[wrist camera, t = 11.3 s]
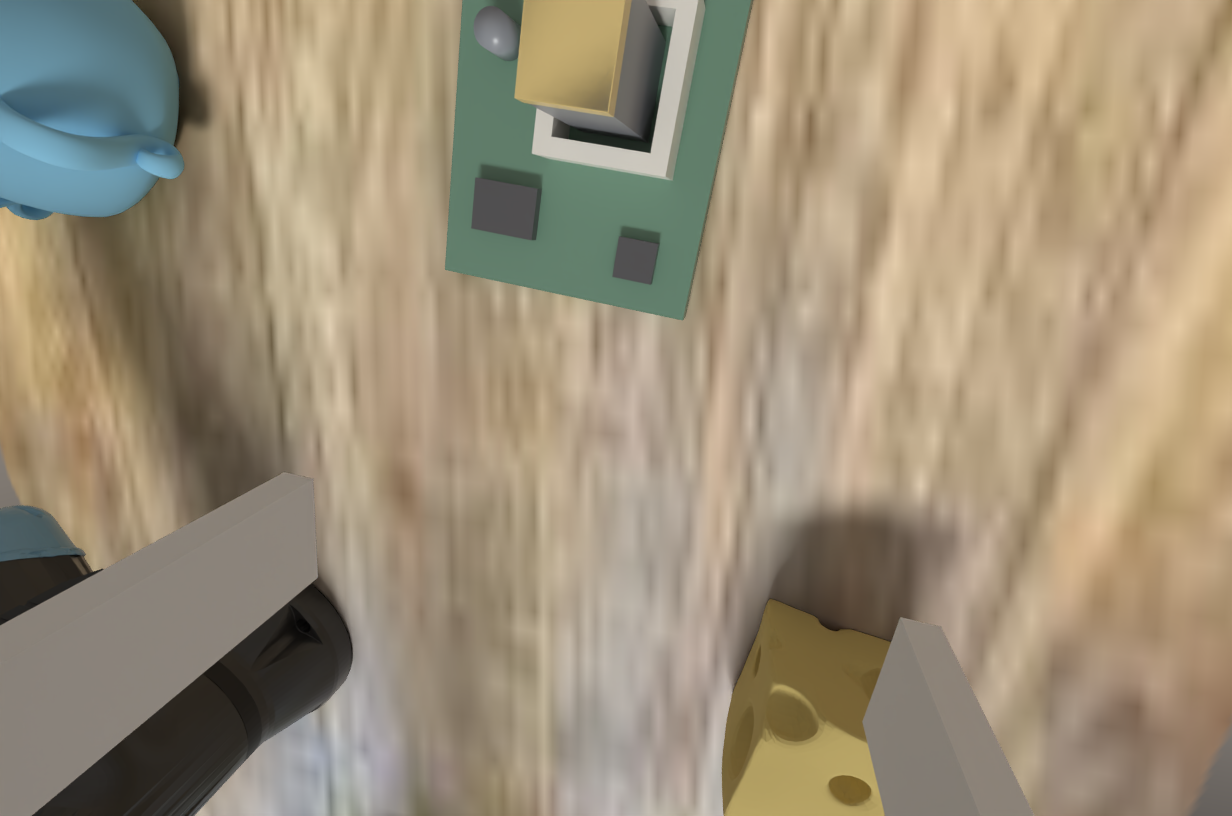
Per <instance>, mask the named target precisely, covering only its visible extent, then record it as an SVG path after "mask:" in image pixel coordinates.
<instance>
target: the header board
mask: <svg viewBox="0 0 1232 816" xmlns="http://www.w3.org/2000/svg"><path fill="white" fill-rule="evenodd" d="M646 2H647V4H648V6H649V8H650V10H651V12H652V14H653V16H654V18H655V21H656V23H657V25H658V27H659V29H660V31H661V33H662V35H663V37H664V39H665V42H666V45H665V51H664V57H663V62H662V68H661V74H660V80H659V85H658V91H657V97H656V103H655V108H654V114H653V120H652V126H651V131H650V137H649V143H646V142H640V141H634V140H628V139H622V138H616V137H610V136H604V135H598V134H592V133H586V132H581V131H579V130H577V129H575V128H574V127H572V126H570V125H568V124H566V123H564V122H562V121H560V120H558V119H556V118H555V117H553V116H551V115H549V114H547V113H545V112H543V111H541V110H539V109H538V108H536V107H534V106H532V105H530V104H528V103H523V102H521V101H519V100H517V99H515V98H514V97H515V86H516V76H517V66H518V55H519V45H520V35H521V25H522V14H523V4H524V0H463V2H462V17H461V33H460V48H459V63H458V79H457V94H456V109H455V125H454V140H453V155H452V171H451V186H450V201H449V217H448V232H447V247H446V263H445V270H448V271H453V272H458V273H463V274H467V275H472V276H477V277H481V278H486V279H491V280H495V281H500V282H505V283H510V284H514V285H519V286H524V287H528V288H533V289H538V290H542V291H547V292H552V293H557V294H561V295H566V296H571V297H575V298H580V299H585V300H589V301H594V302H599V303H604V304H608V305H613V306H618V307H622V308H627V309H632V310H636V311H641V312H646V313H650V314H655V315H660V316H665V317H669V318H674V319H679V320H683V319H684V318H685V316H686V311H687V307H688V302H689V297H690V293H691V288H692V283H693V279H694V274H695V269H696V265H697V260H698V256H699V251H700V246H701V242H702V237H703V232H704V228H705V223H706V218H707V214H708V209H709V204H710V200H711V195H712V190H713V186H714V181H715V176H716V172H717V167H718V162H719V158H720V153H721V148H722V144H723V139H724V134H725V130H726V125H727V120H728V116H729V111H730V107H731V102H732V97H733V93H734V88H735V83H736V79H737V74H738V69H739V65H740V60H741V55H742V51H743V46H744V41H745V37H746V32H747V27H748V23H749V18H750V13H751V9H752V4H753V0H646Z"/></svg>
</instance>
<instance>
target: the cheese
mask: <svg viewBox="0 0 1232 816" xmlns="http://www.w3.org/2000/svg"><path fill="white" fill-rule="evenodd" d="M890 644H891V642H889V641H886V640H883V639H880V638H877V637H874V636H871V635H868V634H864V633H861V632H858V631H855V630H851V629H846V630H845V629H840V630H839V631H832V630H829V629H827V628H825V627H824V626H822V625H821V624H820V622H819V621H818V619H817V618H816V617H815V616H813V615H811V614H808V613H806V612H803V611H801V610H798V609H795V608H792V607H790V606H788V605H786V604H784V603H781V602H779V601H776V600H773V599H769V601H768V602H767V605H766V607H765V610H764V613H763V617H762V621H761V624H760V628H759V631H758V634H757V636H756V639H755V641H754V644H753V646H752V648H751V651H750V653H749V656H748V658H747V660H746V663H745V665H744V668H743V670H742V672H741V675H740V677H739V679H738V681H737V684H736V686H735V688H734V691H733V693H732V698H731V703H730V707H729V712H728V717H727V723H726V731H725V739H724V748H723V758H722V796H723V814H724V816H885V814H884V809H883V805H882V801H881V797H880V793H879V789H878V785H877V780H876V776H875V772H874V768H873V764H872V760H871V756H870V751H869V747H868V743H867V739H866V735H865V731H864V727H863V722H862V721H863V718H864V716H865V713H866V710H867V707H868V705H869V702H870V699H871V696H872V694H873V691H874V688H875V685H876V683H877V680H878V677H879V674H880V672H881V669H882V666H883V663H884V661H885V658H886V655H887V652H888V650H889V647H890Z"/></svg>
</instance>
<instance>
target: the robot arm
mask: <svg viewBox="0 0 1232 816" xmlns="http://www.w3.org/2000/svg"><path fill="white" fill-rule="evenodd" d="M85 555H86V554H85V552H84V551H83V550H82V549H80V548H77V547H76V546H75V545H74V544H73V543H72V541H71V540H70V539H69V537H68V536H67V535H66V533H65V532H64V531H63V529H62V528H61V527H60V525H59V524H58V522H57V521H56V520H55V518H54V517H53V516H52V515H51V514H49V513H48V512H46V511H45V510H43V509H40V508H37V507H33V506H23V505H19V506H9V507H3V508H0V816H194V815H195V814H196V813H197V812H198V811H199V810H200V809H201V808H202V807H203V806H204V805H205V804H206V803H207V801H208V800H209V799H210V798H211V797H212V796H213V795H214V794H215V793H216V792H217V791H218V790H219V788H220V787H221V786H222V785H223V784H224V783H225V782H226V781H227V780H228V779H229V778H230V777H231V776H232V774H233V773H234V772H235V771H236V770H237V769H238V768H239V767H240V766H241V765H242V764H243V763H244V761H245V760H246V759H247V758H248V757H249V756H250V755H251V754H252V753H253V752H254V751H255V750H256V749H257V748H258V747H259V746H260V745H261V744H262V743H263V742H264V741H266V740H268V739H269V738H271V737H273V736H274V735H276V734H277V733H279V732H280V731H282V730H284V729H285V728H287V727H288V726H290V725H291V724H293V723H294V722H296V721H298V720H299V719H301V718H302V717H303V716H305V715H306V714H308V713H310V712H313V711H315V710H316V709H318V708H320V707H321V706H322V705H323V704H325V703H326V702H327V701H328V700H329V699H330V698H331V696H332V695H333V694H334V693H335V692H336V691H337V690H338V689H339V687H340V686H341V685H342V684H343V683H344V681H345V680H346V678H347V676H348V674H349V671H350V667H351V662H352V651H351V644H350V640H349V636H348V633H347V631H346V628H345V626H344V624H343V622H342V620H341V618H340V617H339V615H338V613H337V612H336V610H335V609H334V608H333V606H332V605H331V604H330V603H329V601H328V600H327V599H326V598H325V597H324V596H323V595H322V594H321V593H320V592H319V591H318V590H317V589H316V588H315V587H313V586H312V585H311V583H312V582H313V581H314V580H316V579H317V578H318V565H317V545H316V525H315V505H314V485H313V479H312V478H308V477H303V476H299V475H295V474H291V473H286V472H284V473H282V474H280V475H278V476H276V477H274V478H272V479H271V480H269V481H267V482H265V483H263V484H261V485H259V486H258V487H256V488H254V489H252V490H250V491H248V492H246V493H245V494H243V495H241V496H239V497H237V498H235V499H234V500H232V501H230V502H228V503H226V504H224V505H222V506H221V507H219V508H217V509H215V510H213V511H211V512H209V513H208V514H206V515H204V516H202V517H200V518H198V519H196V520H195V521H193V522H191V523H189V524H187V525H185V526H184V527H182V528H180V529H178V530H176V531H174V532H172V533H171V534H169V535H167V536H165V537H163V538H161V539H159V540H158V541H156V542H154V543H152V544H150V545H148V546H147V547H145V548H143V549H141V550H139V551H137V552H135V553H134V554H132V555H130V556H128V557H126V558H124V559H122V560H121V561H119V562H117V563H115V564H113V565H111V566H109V567H108V568H106V569H100V570H97V571H94V572H93V571H92V569H91V568H90V566H89V564H88V563H87V561H86V560H85V558H84V556H85ZM862 722H863V727H864V731H865V735H866V739H867V743H868V747H869V751H870V756H871V760H872V764H873V768H874V772H875V776H876V780H877V785H878V789H879V793H880V797H881V801H882V805H883V809H884V814H885V816H1034V814H1033V812H1032V810H1031V808H1030V806H1029V803H1028V801H1027V799H1026V797H1025V795H1024V793H1023V791H1022V789H1021V787H1020V785H1019V783H1018V781H1017V779H1016V777H1015V775H1014V773H1013V771H1012V769H1011V767H1010V765H1009V763H1008V761H1007V759H1006V757H1005V755H1004V753H1003V751H1002V749H1001V747H1000V745H999V743H998V741H997V739H996V737H995V735H994V733H993V731H992V729H991V727H990V725H989V723H988V721H987V719H986V717H985V714H984V712H983V710H982V708H981V706H980V704H979V702H978V700H977V698H976V696H975V694H974V692H973V690H972V688H971V686H970V684H969V682H968V680H967V678H966V676H965V674H964V672H963V670H962V668H961V666H960V664H959V662H958V660H957V658H956V656H955V654H954V652H953V650H952V648H951V646H950V644H949V642H948V640H947V638H946V636H945V634H944V632H943V630H942V628H941V627H940V626H936V625H932V624H928V623H923V622H919V621H915V620H911V619H906V618H902V617H900V619H899V622H898V625H897V627H896V630H895V633H894V636H893V639H892V641H891V644H890V647H889V650H888V652H887V655H886V658H885V661H884V663H883V666H882V669H881V672H880V674H879V677H878V680H877V683H876V685H875V688H874V691H873V694H872V696H871V699H870V702H869V705H868V707H867V710H866V713H865V716H864V718H863V721H862Z"/></svg>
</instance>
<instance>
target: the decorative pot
mask: <svg viewBox="0 0 1232 816" xmlns="http://www.w3.org/2000/svg"><path fill="white" fill-rule="evenodd" d="M178 112H179V77H178V73H177V70H176V65H175V61H174V59H173V56H172V53H171V50H170V48H169V46H168V44H167V42H166V40H165V39H164V38H163V36H162V35H161V33H160V32H159V30H158V29H157V28H156V27H155V25H154V24H153V23H152V22H151V20H150V19H149V18H148V17H147V16H146V15H145V14H144V13H143V12H142V11H141V10H140V8H139V7H138V6H137V5H136V4H135V3H134V2H133V1H132V0H0V208H2V207H7V208H8V209H9V210H10V211H11V212H12V213H14V214H15V215H17V216H20V217H22V218H26V219H30V220H40V219H44V218H47V217H48V216H50V215H51V214H52V213H53V212H56V213H62V214H68V215H75V216H83V217H108V216H112V215H116V214H119V213H122V212H124V211H126V210H127V209H129V208H130V207H132V206H134V205H135V204H136V203H138V202H139V201H140V200H141V199H142V198H143V197H144V196H145V195H146V194H147V193H148V192H149V191H150V189H151V188H152V187H153V186H154V185H155V183H156V182H157V180H158V179H159V178H160V177H162V178H166V179H174V178H176V177H178V176H179V175H180V174H181V173H182V171H183V170H184V161H183V157H182V155H181V154H180V152H179V151H178V150H177V149H176V148H175V147H174V142H175V137H176V132H177V124H178Z"/></svg>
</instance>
